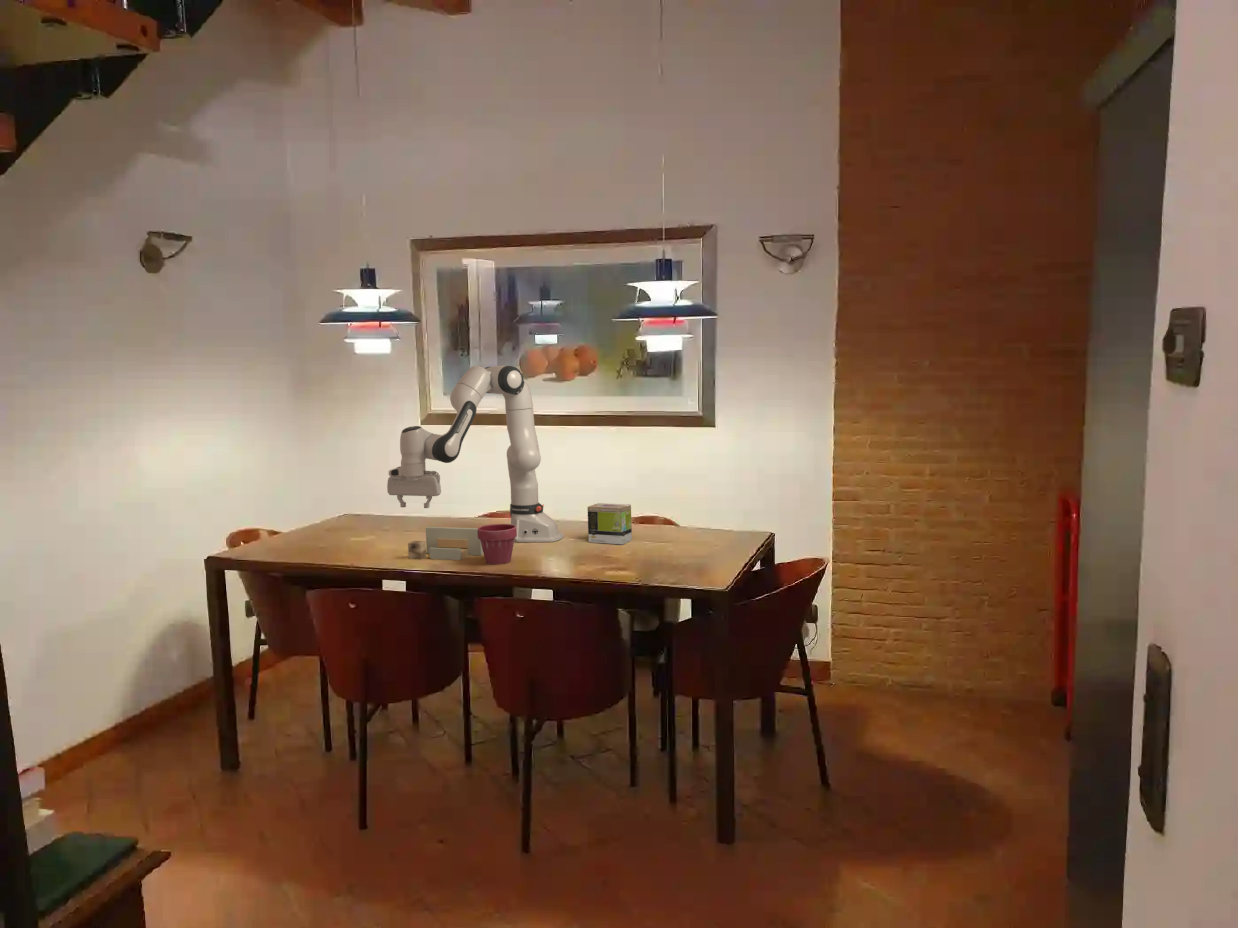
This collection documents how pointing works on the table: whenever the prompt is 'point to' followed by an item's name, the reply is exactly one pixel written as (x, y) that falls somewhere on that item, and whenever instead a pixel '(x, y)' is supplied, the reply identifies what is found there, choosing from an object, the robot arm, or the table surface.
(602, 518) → the tea box
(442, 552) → the grey boxy piece
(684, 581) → the table surface
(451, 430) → the robot arm
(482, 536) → the plant pot
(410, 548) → the cabinet block
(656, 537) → the table surface
